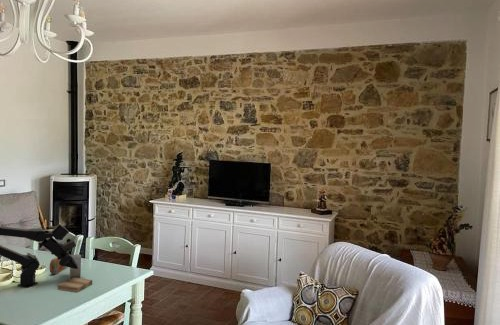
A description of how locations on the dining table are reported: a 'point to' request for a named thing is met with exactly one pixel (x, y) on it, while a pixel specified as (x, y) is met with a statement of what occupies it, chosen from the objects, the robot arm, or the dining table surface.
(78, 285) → the plate
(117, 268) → the dining table surface
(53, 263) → the tin
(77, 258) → the brushed metal box
